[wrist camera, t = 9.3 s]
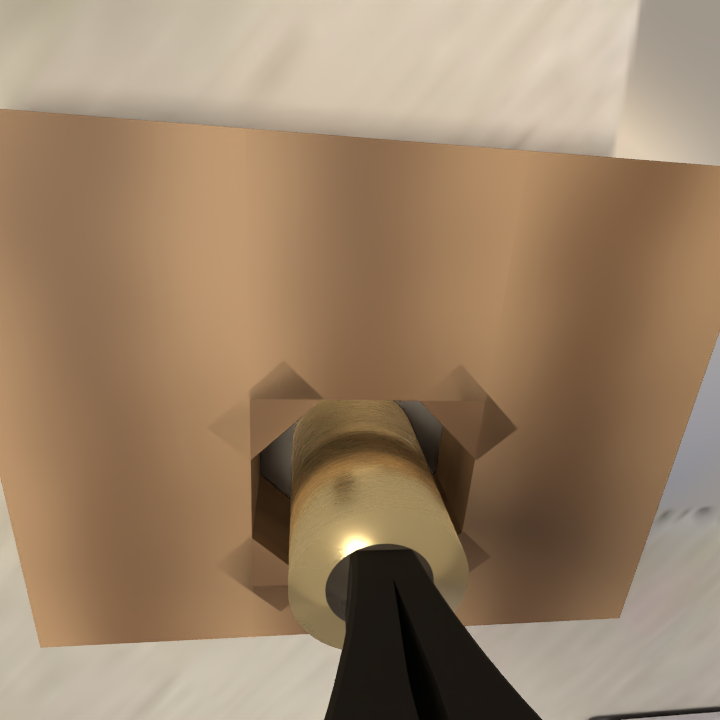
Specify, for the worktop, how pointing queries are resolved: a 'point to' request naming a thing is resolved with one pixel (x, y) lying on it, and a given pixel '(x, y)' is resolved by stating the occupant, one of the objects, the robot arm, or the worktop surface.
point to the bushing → (361, 509)
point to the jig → (334, 358)
